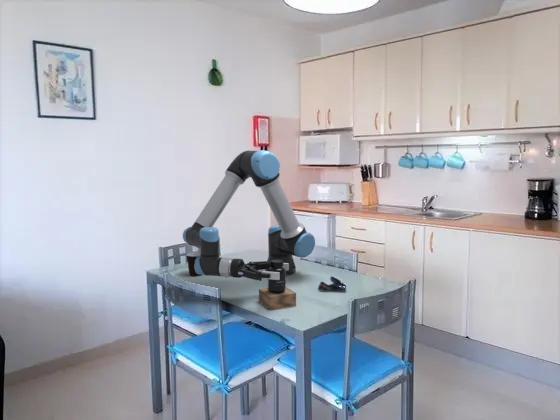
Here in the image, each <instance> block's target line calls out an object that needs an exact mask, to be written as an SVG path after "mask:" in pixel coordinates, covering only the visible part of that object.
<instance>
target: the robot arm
mask: <svg viewBox="0 0 560 420" xmlns="http://www.w3.org/2000/svg"><path fill="white" fill-rule="evenodd" d="M280 167H281V164H280V160H279V158H278V156H277V155H276V154H275V153H273V152H271V151H268V150H262V149H260V150H245V151H242V152H240V153H239V154H238V155H236V156H235V158H234V159H233V160H232V162H231V163H230V164H229V165H228V167H227V168H226V170H225V171H224V174H225V175H224V177H223V179H222V180H221V181H220V183H219V185H218V187H216V189H215V191H214V192H213V194H212V195H211V196H210V198H209V200H208V201H207V203H206V204H205V205H204V207H203V209H202V211H200V213H199V215H198V216H197V218H196V219H195V220H194V223H193V224H192V225H191V226H189V227H187V228H185V229H184V230H183V232H182V239H183V241H184V243H186V244H188V245H189V246H192V247H195V248H197V249H199V252H200V256H199V257H197V258H196V260H195V264H194V269H195V272H196V273H197V274H200V275H201V276H205V277H207V276H210V277H224V278H225V279H227V278H237V279H241V278H247V279H251V280H254V281H259V282H262V281H263V280H268V279H272V280H280V272H268V270H269V268H270V267H271V261H272V260H282V261H283V267H284V268H285V270H286V276H291V275H294V274H295V273H296V271H297V266H296V264H295V261H294V258H293V256H295V257H297V258H306V257H309V256H310V255H311V254H312V253H313V251H314V250H315V246H316V238H315V236H314V235H313V234H312V233H311V232H307V230H306V228H305V226H304V224H303V223H301V222H299V220H298V217H297V216H296V214H295V212H294V210H293V207H292V205H291V203H290V201H289V199H288V198H287V195H286V193H285V190H284V188H283V187H282V185H281V182H280V181H279V178H280V176H281V173H280ZM249 178H251V180H252V182H253V184H254V185H255V187H256V188H259V189H260V190H261V192H262V194H263V196H264V199H265V200H266V202H267V204H268V206H269V208H270V210H271V212H272V214H273V217H274V218H275V221H276V222H277V223H278V225H272V226H270V227H269V228H268V231H267V233H268V234H267V236H268V237H267V239H268V240H267V241H268V249H267V250H268V255H267V256H268V258H267V260H262V261H249V262H247V263H245V261H244V260H243V258H232V257H220V235H219V229H218V228H217V227H215V226H214V225H215V224H216V222H217V221H218V219H219V218H220V216H221V215H222V213H223V212H224V210H225V208H226V206H227V205H228V204H229V203H230V201H231V199H232V198H233V196H234V195H235V193H236V191H237V190H238V188H239V187H240V186H241V185H244V183H246V180H248V179H249Z"/></svg>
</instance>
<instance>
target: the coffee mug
mask: <svg viewBox="0 0 560 420" xmlns="http://www.w3.org/2000/svg"><path fill="white" fill-rule="evenodd" d="M185 255H186V261H187V267H188V268H187V269H188V274H189V276H190V277H202V275H200V274H197V273H196V272H195V269H194V264H195V260H196V258H197V257H199V256H200V251H199V252H197V251H196V252H189V253H186V254H185Z"/></svg>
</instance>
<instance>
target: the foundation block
mask: <svg viewBox="0 0 560 420" xmlns="http://www.w3.org/2000/svg"><path fill="white" fill-rule="evenodd" d="M258 301H259V302H260V303H261V304H262V305H263V306H265V308H267V309H268V310H270V311H271V310H277V309H282V308H283V309H285V308H290V307H296V306H297V292H296V291H293V290H292V289H290V288H289V287H288V286H286V285H285V291H284V292H283V293H271V292H269V291H268V287H263V288H262V287H261V288H258Z"/></svg>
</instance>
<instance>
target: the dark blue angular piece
mask: <svg viewBox="0 0 560 420" xmlns="http://www.w3.org/2000/svg"><path fill="white" fill-rule="evenodd" d="M329 280H330V282H331V283H329V284H327V283H325V282H324V281H319V284H318V286H317V288H318V289H319V290H320V289H323V290H329V291H337V290H342V291H346V289H347V285H346V284H344V282H342V281H341V280H340V279H339V278H338V277H335V276H332V275H331V276H330V278H329ZM339 286H341V287H339ZM343 286H345V288H344V287H343Z"/></svg>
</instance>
